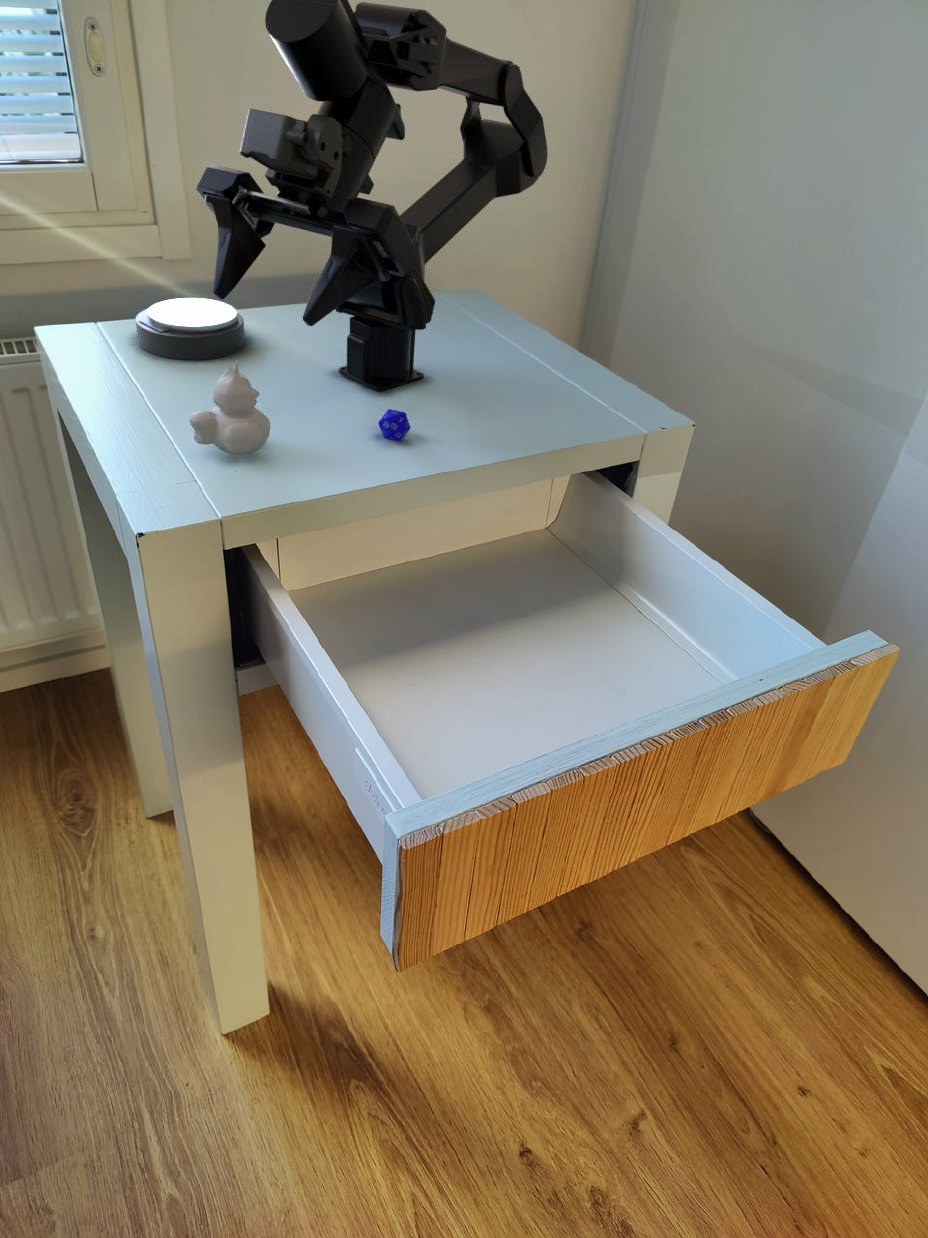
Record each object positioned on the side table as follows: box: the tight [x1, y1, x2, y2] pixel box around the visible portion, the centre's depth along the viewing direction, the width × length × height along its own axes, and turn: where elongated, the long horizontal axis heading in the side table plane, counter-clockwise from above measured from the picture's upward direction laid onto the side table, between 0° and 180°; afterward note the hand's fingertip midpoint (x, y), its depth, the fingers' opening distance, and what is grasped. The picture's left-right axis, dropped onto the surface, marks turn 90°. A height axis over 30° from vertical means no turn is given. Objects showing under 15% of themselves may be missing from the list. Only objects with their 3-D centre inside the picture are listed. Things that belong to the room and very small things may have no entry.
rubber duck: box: [188, 360, 271, 456], centre depth 71 cm, size 5×7×8 cm
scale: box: [135, 297, 246, 361], centre depth 92 cm, size 11×11×3 cm
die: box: [377, 408, 411, 442], centre depth 78 cm, size 3×3×3 cm
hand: (261, 309), depth 70 cm, fingers open, 9 cm apart
